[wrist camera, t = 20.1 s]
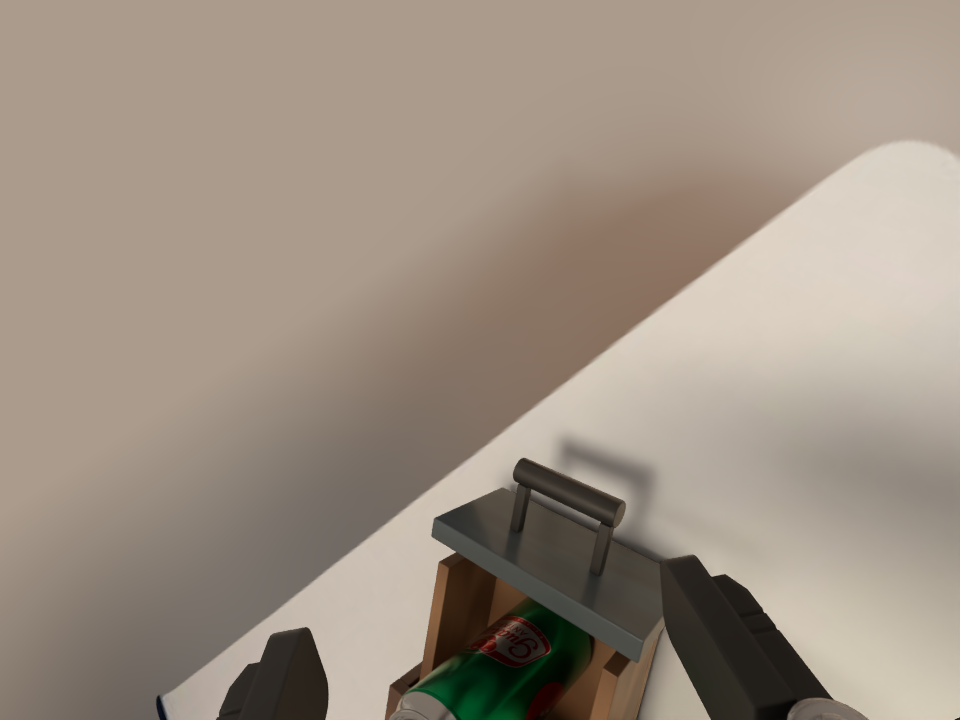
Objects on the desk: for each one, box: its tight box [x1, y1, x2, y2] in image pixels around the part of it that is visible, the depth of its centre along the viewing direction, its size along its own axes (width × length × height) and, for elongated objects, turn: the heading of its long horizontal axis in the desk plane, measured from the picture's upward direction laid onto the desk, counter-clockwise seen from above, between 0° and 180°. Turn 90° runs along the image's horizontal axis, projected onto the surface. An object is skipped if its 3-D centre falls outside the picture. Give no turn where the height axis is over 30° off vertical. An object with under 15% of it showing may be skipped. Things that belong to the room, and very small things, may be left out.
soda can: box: [389, 596, 591, 720], centre depth 27 cm, size 5×5×12 cm
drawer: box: [419, 458, 665, 720], centre depth 30 cm, size 20×12×7 cm, turn 170°
